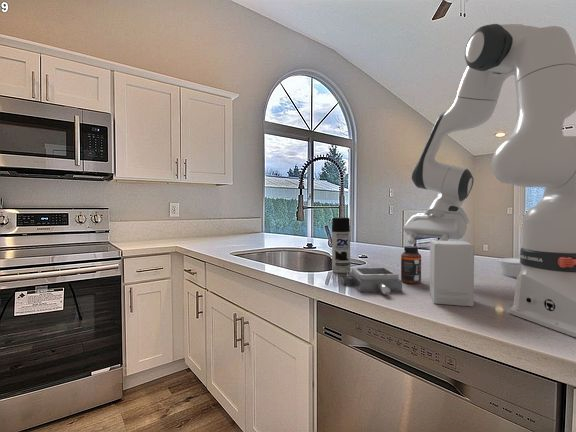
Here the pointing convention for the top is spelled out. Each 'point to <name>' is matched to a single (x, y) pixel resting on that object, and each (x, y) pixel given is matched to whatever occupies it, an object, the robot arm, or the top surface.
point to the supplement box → (452, 272)
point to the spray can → (341, 245)
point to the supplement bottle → (411, 265)
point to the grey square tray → (373, 280)
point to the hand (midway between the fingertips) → (423, 244)
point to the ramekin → (510, 266)
